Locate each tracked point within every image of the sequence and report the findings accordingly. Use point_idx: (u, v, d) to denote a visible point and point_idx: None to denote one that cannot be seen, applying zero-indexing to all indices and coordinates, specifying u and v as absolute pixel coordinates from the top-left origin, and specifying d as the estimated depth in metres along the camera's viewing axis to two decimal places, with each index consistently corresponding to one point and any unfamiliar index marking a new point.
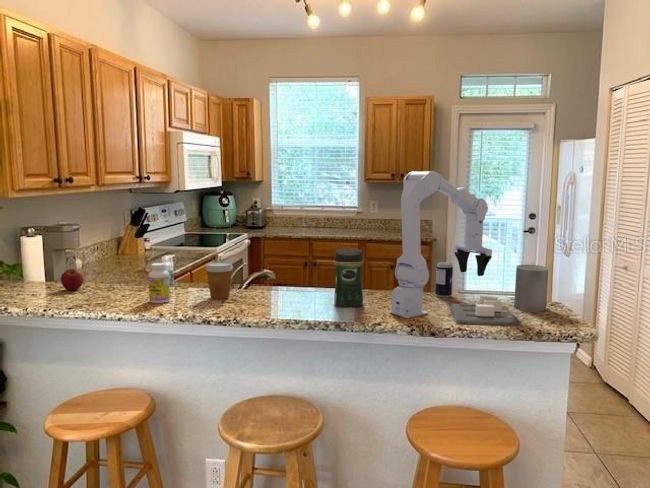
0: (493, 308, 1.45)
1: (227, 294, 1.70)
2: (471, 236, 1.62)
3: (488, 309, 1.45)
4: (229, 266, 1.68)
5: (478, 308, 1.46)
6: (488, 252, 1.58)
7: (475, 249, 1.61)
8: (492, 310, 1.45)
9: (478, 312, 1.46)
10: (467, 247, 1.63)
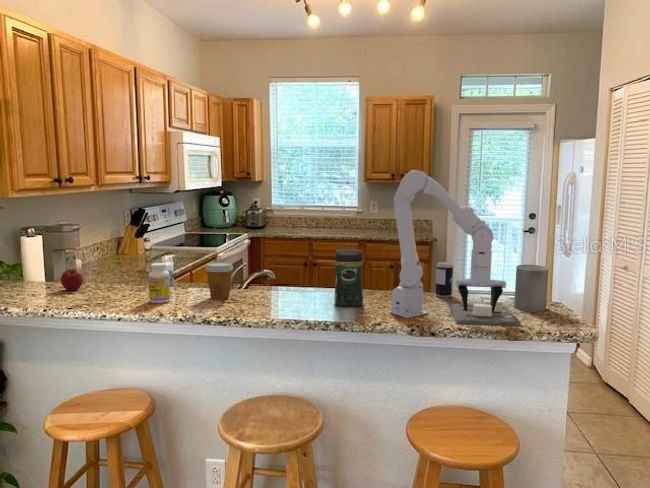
0: (490, 308, 1.45)
1: (227, 294, 1.70)
2: None
3: (485, 309, 1.45)
4: (229, 266, 1.68)
5: (475, 308, 1.46)
6: None
7: None
8: (489, 310, 1.45)
9: (475, 312, 1.46)
10: None
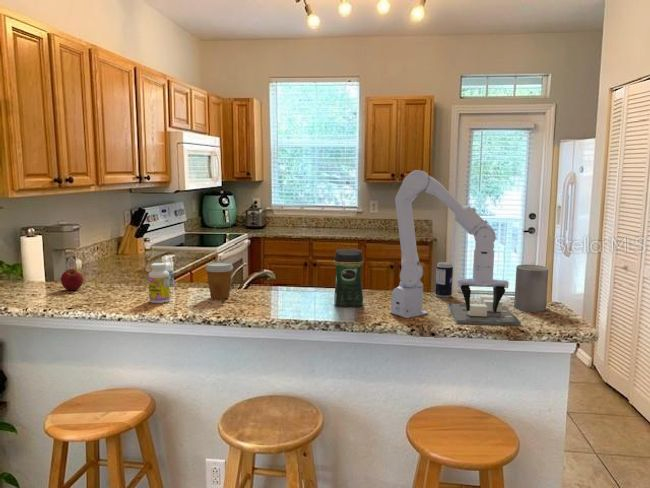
0: (486, 308, 1.45)
1: (227, 294, 1.70)
2: None
3: (480, 309, 1.46)
4: (229, 266, 1.68)
5: (471, 308, 1.46)
6: (457, 282, 1.47)
7: None
8: (485, 310, 1.45)
9: (471, 312, 1.46)
10: None
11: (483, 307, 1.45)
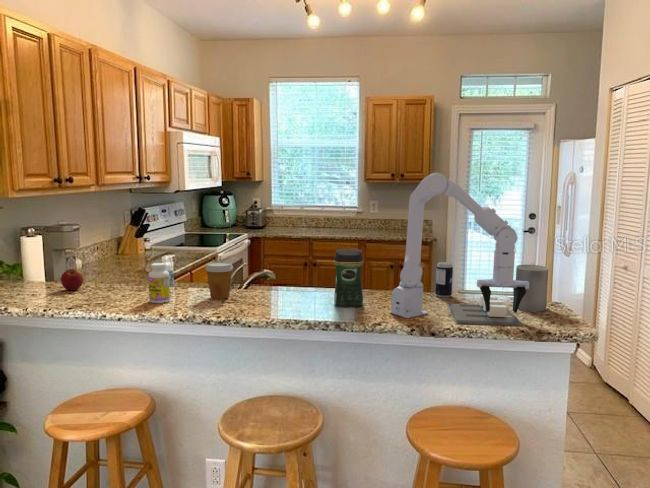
0: (505, 308, 1.45)
1: (227, 294, 1.70)
2: None
3: (500, 310, 1.45)
4: (229, 266, 1.68)
5: (490, 308, 1.45)
6: (477, 282, 1.46)
7: None
8: (504, 310, 1.45)
9: (490, 312, 1.45)
10: None
11: (503, 308, 1.45)
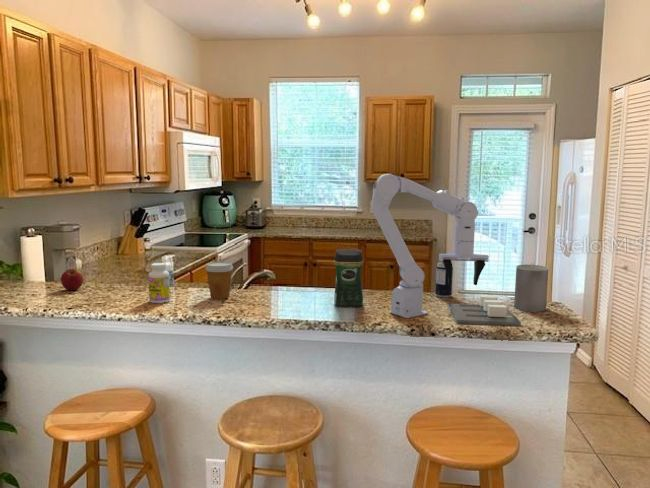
0: (505, 308, 1.45)
1: (227, 294, 1.70)
2: None
3: (500, 310, 1.45)
4: (229, 266, 1.68)
5: (490, 308, 1.45)
6: (439, 256, 1.52)
7: None
8: (504, 310, 1.45)
9: (490, 312, 1.45)
10: None
11: (503, 308, 1.45)
